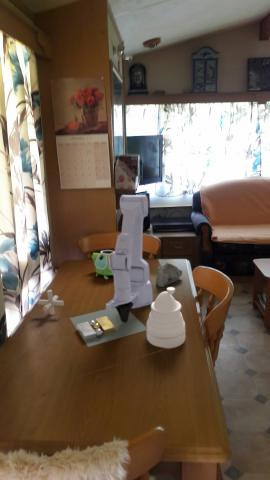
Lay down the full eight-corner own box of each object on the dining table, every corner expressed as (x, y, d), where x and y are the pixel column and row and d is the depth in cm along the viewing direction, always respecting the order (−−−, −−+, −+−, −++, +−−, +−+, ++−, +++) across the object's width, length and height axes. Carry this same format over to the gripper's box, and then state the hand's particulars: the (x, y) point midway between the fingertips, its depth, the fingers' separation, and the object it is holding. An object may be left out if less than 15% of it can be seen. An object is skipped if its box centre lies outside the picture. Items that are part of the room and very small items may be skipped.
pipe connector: (59, 321, 133) (56, 297, 131) (34, 319, 135) (31, 295, 133) (69, 309, 143) (66, 286, 140) (45, 307, 145) (43, 285, 142)
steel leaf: (103, 336, 122) (103, 330, 121) (85, 341, 119) (84, 335, 118) (94, 324, 129) (94, 318, 129) (77, 329, 127) (76, 323, 126)
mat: (123, 305, 144) (122, 304, 144) (148, 330, 125) (148, 329, 125) (69, 318, 135) (69, 318, 135) (88, 347, 116) (88, 346, 116)
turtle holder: (104, 266, 189) (102, 244, 186) (127, 274, 177) (126, 251, 173) (85, 272, 181) (83, 250, 178) (108, 281, 168) (106, 257, 165)
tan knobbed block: (115, 332, 124) (115, 326, 123) (97, 337, 121) (97, 330, 121) (106, 321, 132) (106, 315, 131) (89, 325, 129) (89, 319, 128)
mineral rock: (181, 278, 169) (181, 257, 167) (186, 287, 159) (185, 265, 156) (154, 279, 169) (154, 259, 166) (157, 288, 159) (156, 267, 156)
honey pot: (188, 330, 124) (188, 282, 119) (180, 351, 112) (180, 298, 107) (152, 325, 128) (151, 278, 123) (141, 345, 116) (139, 294, 111)
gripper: (129, 277, 133) (131, 310, 137) (99, 289, 123) (101, 325, 127) (143, 282, 128) (144, 316, 132) (112, 295, 119) (114, 332, 122)
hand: (124, 321), depth 129 cm, fingers closed
